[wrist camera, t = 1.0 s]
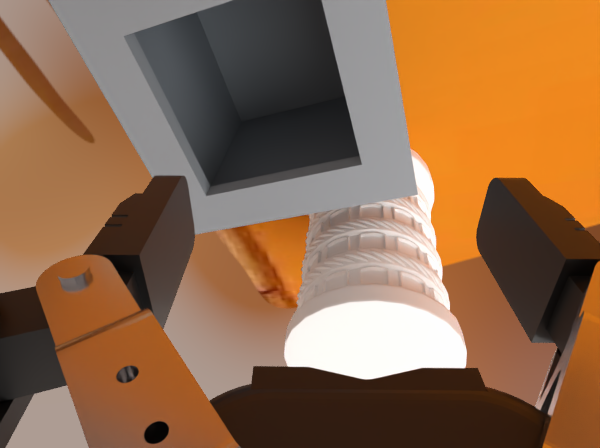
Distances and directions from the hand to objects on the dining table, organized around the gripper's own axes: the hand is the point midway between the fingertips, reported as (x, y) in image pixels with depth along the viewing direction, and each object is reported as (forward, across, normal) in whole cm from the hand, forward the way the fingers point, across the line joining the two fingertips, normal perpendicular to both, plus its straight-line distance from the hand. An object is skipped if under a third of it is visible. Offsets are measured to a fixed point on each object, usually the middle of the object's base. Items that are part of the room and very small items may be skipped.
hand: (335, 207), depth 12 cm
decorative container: (+26, -5, +13) cm, 29 cm away
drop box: (+24, +2, -1) cm, 25 cm away
